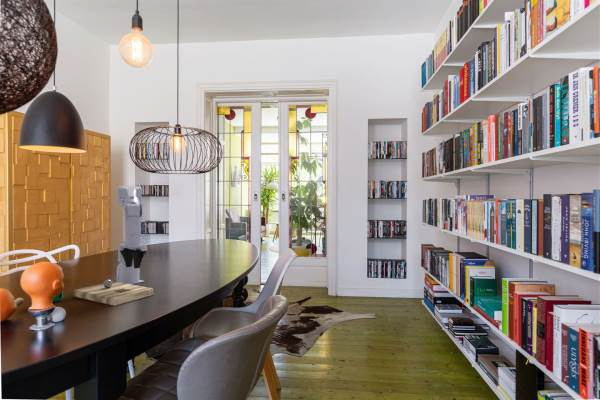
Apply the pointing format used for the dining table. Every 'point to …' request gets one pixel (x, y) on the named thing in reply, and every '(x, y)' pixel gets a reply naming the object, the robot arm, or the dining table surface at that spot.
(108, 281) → the steel ball
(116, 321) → the dining table surface
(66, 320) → the dining table surface
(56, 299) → the soda can
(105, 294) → the birch board
